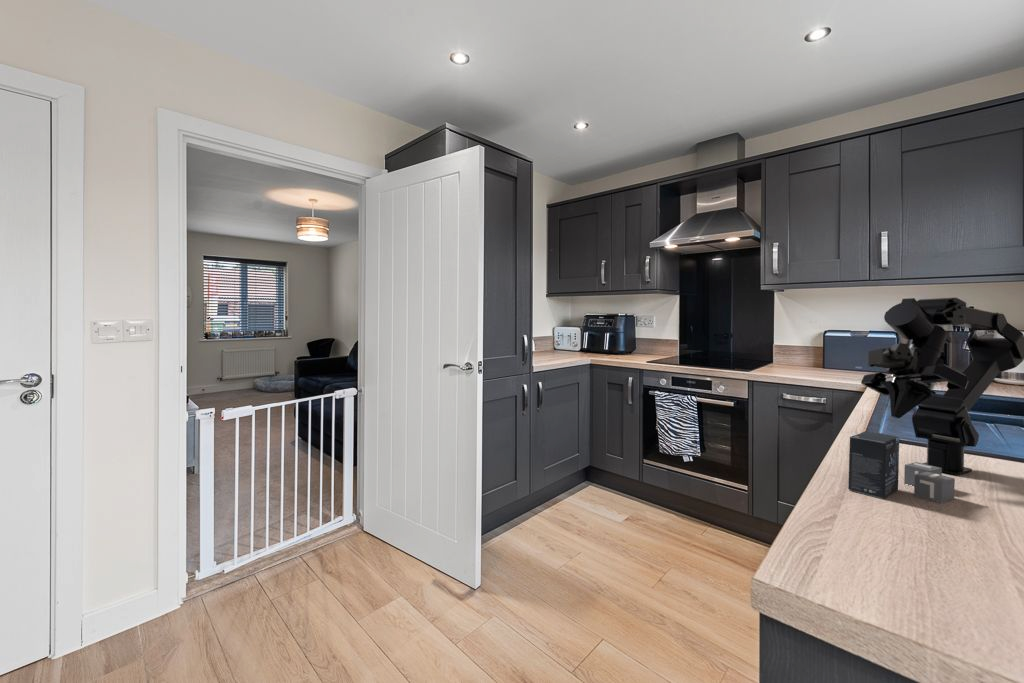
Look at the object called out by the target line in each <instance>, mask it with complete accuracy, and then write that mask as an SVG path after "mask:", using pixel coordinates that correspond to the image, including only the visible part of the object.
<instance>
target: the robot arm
mask: <svg viewBox="0 0 1024 683" xmlns="http://www.w3.org/2000/svg"><path fill="white" fill-rule="evenodd" d="M883 317H884V318H883V320H884V321H885V323H887V325H888V326H889V327H891V328H892V329H893V330H894V331H895V332H896V334H898V335H899V336H900V337H901V339H902V338H903V339H905V340H906V342H905V343H902V342H900V343H895V344H892V346H891V347H887V348H886V347H885V348H878V349H873V350H869V351H867V352H868V354H867V359H868V360H867V366H868V367H871V368H873V367H878V368H883V369H885V372H887V373H889V374H890V375H889V374H888V375H887V373H883V372H875V373H868V374H864V375H863V377H862V379H861V382H860V384H861V385H863V386H865V387H867V388H869V389H871V390H872V391H874V392H877V393H878V394H880V395H883V396H886V397H889V402H890V416H891V417H892V418H895V419H901V418H902V417H903V416H905V415H906V414H907V413H909V412H911V410H913V409H914V408H915V407H917V409H916V410H915V411H914V412H913V414H912V418H911V421H912V427H913V431H914V435H915V438H917V439H924V440H926V441H927V442H926V443H927V444H926V446H927V447H926V448H927V449H926V462H922V464H926V465H931V466H935V467H940V468H942V473H944V474H945V473H946V474H951V475H955V476H958V475H963V474H966V473H970V472H973V469H972V468H969V467H966V466H965V447H967V448H968V447H972V448H973V447H977V445H978V442H979V438H980V437H979V436H980V435H979V433H978V431H977V430H976V428H975V426H974V425H973V422H972V420H971V417H970V414H969V411H971V409H972V408H973V407H974V405H975V404H976V403H977V402H978V400H979V399H980V398H981V396H982V395H983V394H984V393H985V392H986V390H988V387H989V386H990V385H991V384H992V382H994V380H996V378H997V376H998V375H999V374H1000V373H1002V372H1007V371H1009V370H1013V369H1015V368H1017V367H1018V366H1020V364H1021V363H1022V362H1024V333H1023V332H1022V331H1021V330H1019V329H1018V328H1016V327H1015V326H1013V325H1011V323H1009V322H1008V321H1007V317H1006V315H1005V314H1004V313H999V312H993V311H986V310H983V309H982V310H981V309H978V308H973V307H969V306H967V302H966V301H964V300H962V299H960V298H958V297H941V298H940V297H939V298H938V297H937V298H922V299H918V300H916V298H915V297H914V298H913V297H911V298H910V297H909V298H902V300H901V302H899V303H897V304H895V305H893V306H891V307H890V308H889V309H888V310H887V311H886V312H885V313H884V316H883ZM942 326H956V327H962V328H966V329H969V330H970V334H969V335H968V338H967V339H966V342H965V343H966V345H967V348H968V349H969V354H970V356H971V359H972V360H971V361H970V362H969V364H968V365H967V366H966V367H965V368H964V370H962V372H960V371H959V370H957V369H955V368H953V367H951V366H948V365H947V364H944V362H945V359H943V358H941V353H942V351H943V349H944V346H945V344H951V343H952V337H951V336H949V333H948V331H947V330H945V328H944V327H942ZM978 331H996V333H997V334H998V335H1000V336H1001V337H978V335H977V332H978ZM942 382H943V383H944V382H947V383H946V388H947V390H946V391H945V392H944V393H943V395H942V396H936V394H937V392H936V391H934V389H935V388H934V387H935V386H937V385H938V383H942Z"/></svg>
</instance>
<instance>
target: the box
mask: <svg viewBox="0 0 1024 683" xmlns="http://www.w3.org/2000/svg"><path fill="white" fill-rule="evenodd" d="M848 450H849V451H848V452H849V454H848V455H849V458H848V485H847V487H848V490H849V491H851V492H855V493H859V494H863V495H866V496H870V497H874V498H878V499H881V500H884V499H885V498H887V497H889V496H890V495H891V494H893V493H894V492H897V491H898V490H899V471H900V470H899V466H900V465H899V464H900V436H896V435H890V434H885V433H879V432H873V431H867V430H865V431H862V432H860V433H858V434H854V435H852V436H850V437H849V449H848Z"/></svg>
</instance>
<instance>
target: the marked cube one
mask: <svg viewBox="0 0 1024 683" xmlns="http://www.w3.org/2000/svg"><path fill="white" fill-rule="evenodd" d="M922 463H923V462H922ZM922 463H921V462H917V461H916V462H912V463H907V464H904V474H903V475H904V479H903V480H904V483H903V484H904V485H905V484H908V485H907V486H909V485H912V486H914V480H915V474H919V473H923V472H931V473H935V474H939V475H943V474H942V473H943V472H942V468H940V467H935V466H931V465H926V464H922ZM912 486H911V487H912Z"/></svg>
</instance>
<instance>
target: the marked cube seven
mask: <svg viewBox="0 0 1024 683" xmlns="http://www.w3.org/2000/svg"><path fill="white" fill-rule="evenodd" d="M955 480H956V478H955V477H951V476H948V475H947V476H946V475H943V474H942V475H939V474H935V473H931V472H923V473H919V474H915V480H914V487H913V488H914V489H913V492H914V494H913V496H915V497H919V498H923V499H926V500H929V501H931V502H936V503H940V504H945V503H947V502H951V501H954V500H955V483H956V481H955Z"/></svg>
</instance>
